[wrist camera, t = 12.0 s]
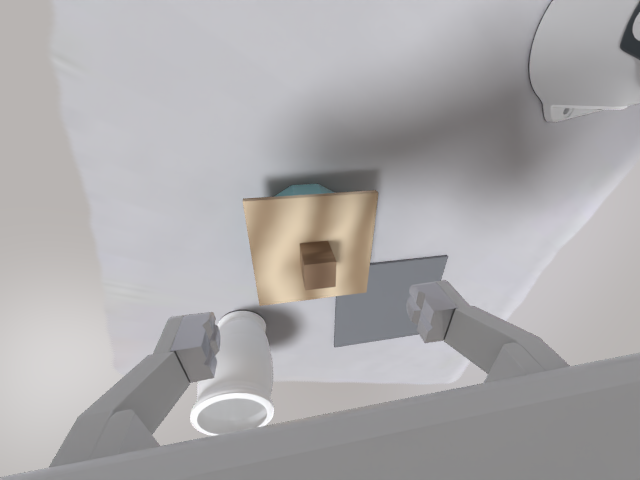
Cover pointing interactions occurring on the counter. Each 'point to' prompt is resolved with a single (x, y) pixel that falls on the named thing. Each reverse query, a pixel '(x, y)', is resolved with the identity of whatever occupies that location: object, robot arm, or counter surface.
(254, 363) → the jar
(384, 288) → the mat
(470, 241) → the counter surface
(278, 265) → the lid
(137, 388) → the robot arm
